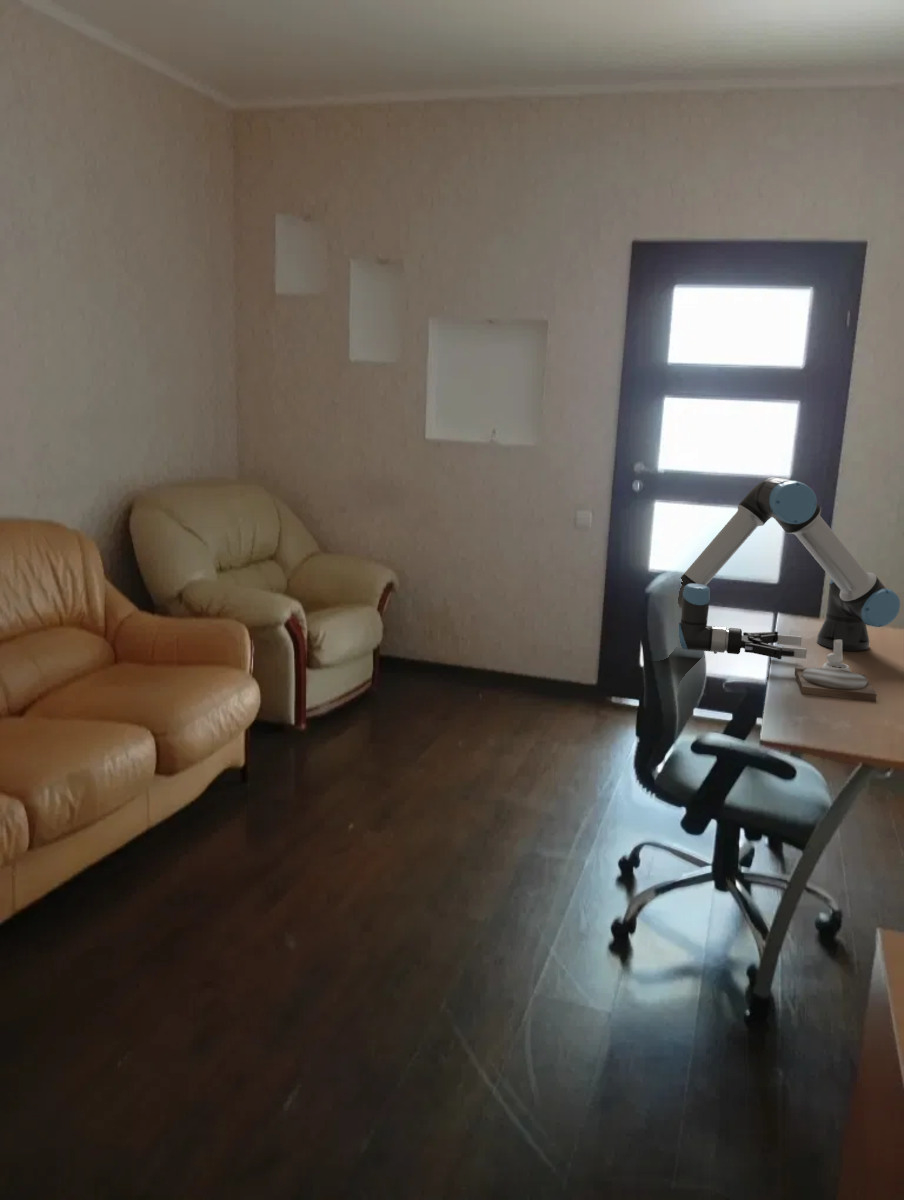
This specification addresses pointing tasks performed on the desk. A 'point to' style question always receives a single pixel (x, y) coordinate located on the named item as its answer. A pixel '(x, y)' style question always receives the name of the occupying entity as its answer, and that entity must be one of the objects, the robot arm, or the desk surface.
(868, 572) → the robot arm
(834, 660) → the white vr controller
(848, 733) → the desk surface
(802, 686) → the rosette stand
